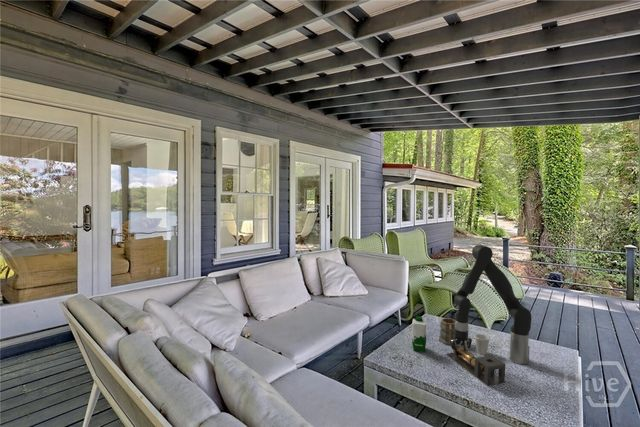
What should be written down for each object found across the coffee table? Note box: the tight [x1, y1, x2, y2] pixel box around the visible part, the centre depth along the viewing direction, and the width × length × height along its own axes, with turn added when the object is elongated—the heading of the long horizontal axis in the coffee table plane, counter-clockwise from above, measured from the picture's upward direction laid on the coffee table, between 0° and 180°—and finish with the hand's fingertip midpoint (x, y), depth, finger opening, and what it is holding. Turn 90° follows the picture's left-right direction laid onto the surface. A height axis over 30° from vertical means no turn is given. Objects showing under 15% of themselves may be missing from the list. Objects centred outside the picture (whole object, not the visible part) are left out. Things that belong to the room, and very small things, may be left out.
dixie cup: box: [474, 333, 490, 356], centre depth 203 cm, size 8×8×10 cm
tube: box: [452, 347, 485, 372], centre depth 188 cm, size 22×5×5 cm, turn 14°
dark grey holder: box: [445, 352, 507, 387], centre depth 184 cm, size 34×12×10 cm, turn 15°
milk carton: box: [411, 315, 427, 353], centre depth 207 cm, size 9×9×20 cm
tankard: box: [438, 317, 456, 346], centre depth 215 cm, size 20×13×15 cm, turn 159°
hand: (460, 355), depth 195 cm, fingers closed on tube, 5 cm apart
